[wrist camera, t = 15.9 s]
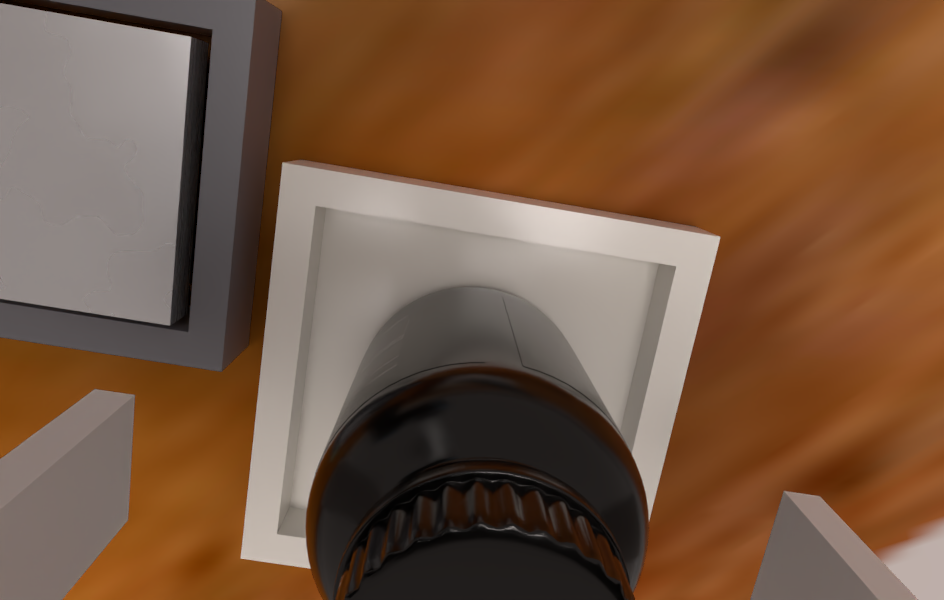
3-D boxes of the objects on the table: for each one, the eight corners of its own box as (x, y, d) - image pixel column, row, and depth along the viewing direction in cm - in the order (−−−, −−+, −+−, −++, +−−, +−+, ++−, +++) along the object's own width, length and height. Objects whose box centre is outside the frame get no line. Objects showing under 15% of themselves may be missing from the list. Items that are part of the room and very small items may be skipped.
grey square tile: (-79, 272, 20) (-114, 280, 19) (-82, -9, 18) (-120, -19, 17) (187, 314, 20) (169, 325, 19) (208, 42, 18) (191, 36, 17)
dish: (261, 520, 24) (240, 558, 21) (301, 159, 21) (282, 162, 19) (611, 571, 24) (625, 613, 22) (695, 226, 21) (720, 237, 19)
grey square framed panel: (-76, 303, 22) (-170, 333, 19) (-79, -54, 20) (-186, -91, 16) (247, 354, 22) (210, 391, 19) (282, 11, 20) (246, -13, 17)
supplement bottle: (412, 519, 23) (357, 915, 11) (324, 330, 21) (155, 556, 10) (612, 445, 22) (774, 777, 11) (535, 246, 21) (623, 377, 9)
